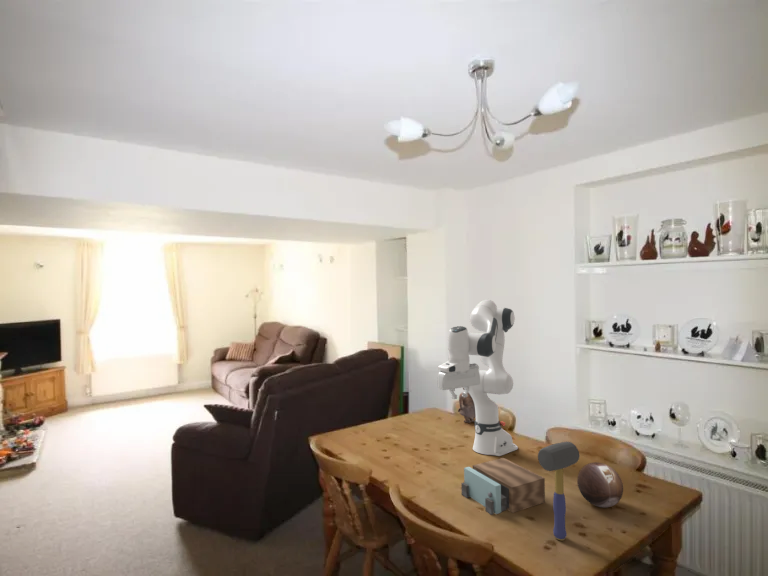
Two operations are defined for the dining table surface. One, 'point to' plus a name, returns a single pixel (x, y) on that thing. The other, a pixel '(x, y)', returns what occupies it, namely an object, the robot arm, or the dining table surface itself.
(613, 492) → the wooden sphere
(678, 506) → the dining table surface
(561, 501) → the rubber mallet
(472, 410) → the clay figurine
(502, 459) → the cabinet
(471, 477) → the door
